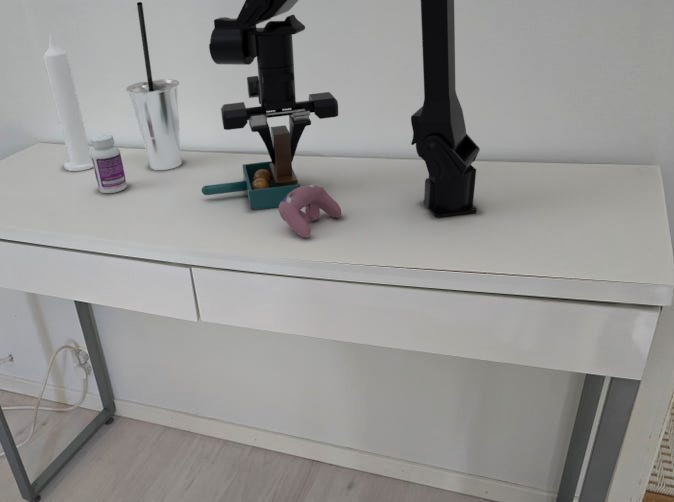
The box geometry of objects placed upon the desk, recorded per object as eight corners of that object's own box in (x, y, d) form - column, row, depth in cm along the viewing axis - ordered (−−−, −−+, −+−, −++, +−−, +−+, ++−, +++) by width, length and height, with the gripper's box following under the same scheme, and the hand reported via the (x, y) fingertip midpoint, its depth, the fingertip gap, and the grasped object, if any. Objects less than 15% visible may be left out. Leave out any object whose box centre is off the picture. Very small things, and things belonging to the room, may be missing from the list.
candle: (63, 163, 141) (30, 35, 127) (96, 157, 143) (67, 29, 129) (66, 173, 136) (31, 39, 122) (100, 167, 137) (70, 34, 123)
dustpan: (289, 176, 122) (288, 158, 120) (301, 204, 111) (300, 185, 109) (201, 187, 122) (199, 169, 120) (204, 216, 110) (201, 196, 108)
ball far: (264, 187, 120) (273, 171, 118) (266, 193, 117) (275, 177, 116) (249, 179, 119) (258, 163, 117) (251, 185, 116) (259, 169, 115)
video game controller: (324, 222, 108) (307, 181, 106) (345, 214, 104) (328, 172, 102) (288, 245, 102) (268, 202, 100) (309, 238, 98) (289, 193, 96)
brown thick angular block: (290, 176, 120) (286, 120, 115) (298, 196, 112) (295, 137, 106) (270, 178, 120) (265, 123, 115) (277, 198, 112) (272, 139, 106)
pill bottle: (133, 185, 126) (123, 134, 121) (113, 195, 122) (102, 142, 117) (112, 182, 129) (101, 131, 123) (93, 191, 125) (80, 140, 120)
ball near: (272, 182, 115) (257, 172, 113) (274, 189, 112) (259, 178, 111) (260, 197, 116) (246, 186, 115) (262, 204, 113) (247, 193, 112)
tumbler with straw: (168, 178, 128) (139, 2, 111) (128, 170, 134) (94, 3, 117) (205, 161, 134) (182, -7, 118) (165, 154, 140) (138, -7, 124)
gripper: (324, 49, 112) (327, 142, 121) (214, 62, 111) (225, 155, 120) (337, 61, 103) (339, 161, 111) (217, 75, 102) (229, 175, 111)
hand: (282, 162), depth 114 cm, fingers closed on brown thick angular block, 2 cm apart
